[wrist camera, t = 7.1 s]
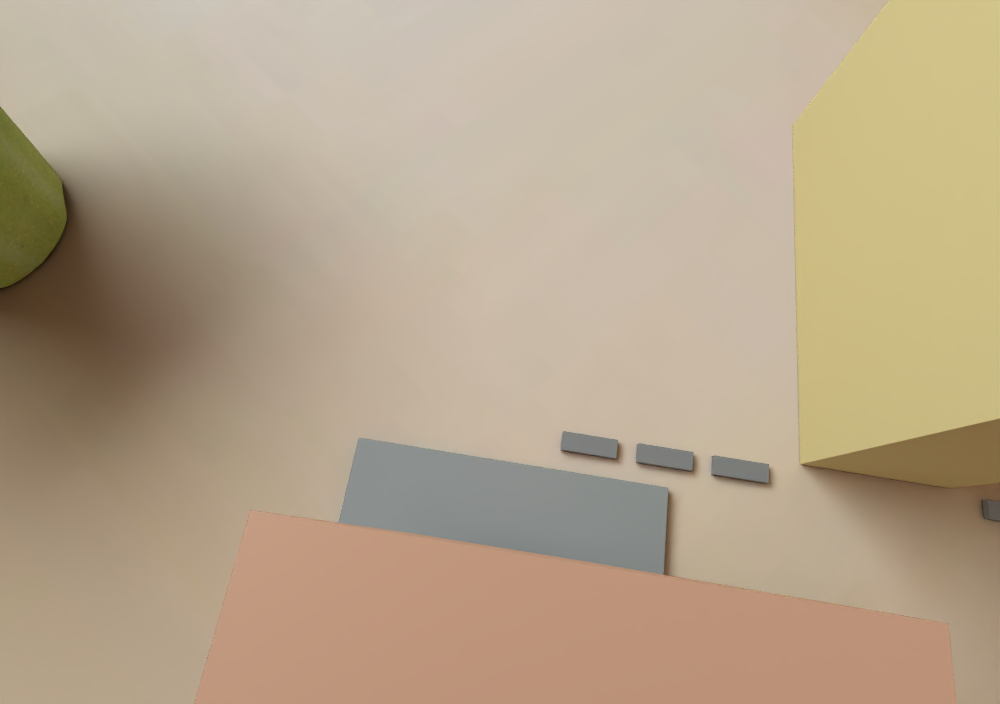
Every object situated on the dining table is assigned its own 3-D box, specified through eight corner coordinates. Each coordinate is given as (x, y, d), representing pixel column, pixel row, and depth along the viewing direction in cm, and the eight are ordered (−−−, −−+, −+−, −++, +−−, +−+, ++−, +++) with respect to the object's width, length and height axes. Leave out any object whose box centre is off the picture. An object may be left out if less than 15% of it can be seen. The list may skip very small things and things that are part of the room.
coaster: (644, 870, 15) (647, 876, 14) (273, 808, 15) (269, 814, 15) (665, 488, 18) (668, 487, 18) (360, 439, 18) (358, 437, 18)
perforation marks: (1192, 552, 18) (1199, 552, 18) (560, 450, 18) (561, 449, 18) (1187, 533, 18) (1194, 533, 18) (562, 432, 18) (563, 431, 18)
